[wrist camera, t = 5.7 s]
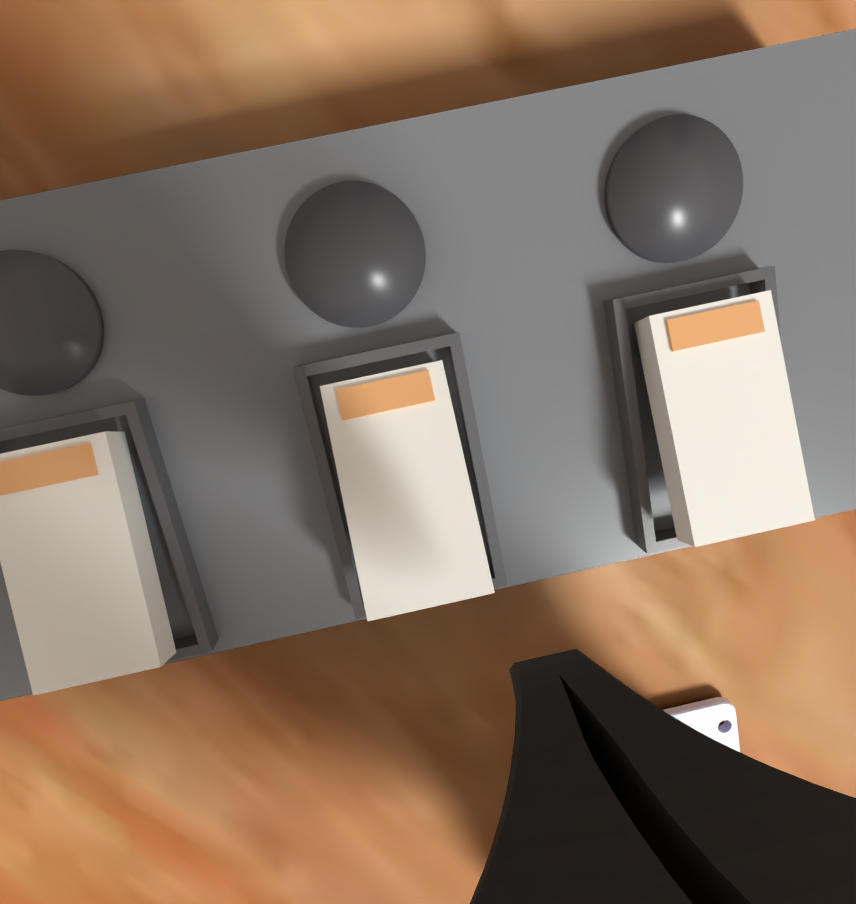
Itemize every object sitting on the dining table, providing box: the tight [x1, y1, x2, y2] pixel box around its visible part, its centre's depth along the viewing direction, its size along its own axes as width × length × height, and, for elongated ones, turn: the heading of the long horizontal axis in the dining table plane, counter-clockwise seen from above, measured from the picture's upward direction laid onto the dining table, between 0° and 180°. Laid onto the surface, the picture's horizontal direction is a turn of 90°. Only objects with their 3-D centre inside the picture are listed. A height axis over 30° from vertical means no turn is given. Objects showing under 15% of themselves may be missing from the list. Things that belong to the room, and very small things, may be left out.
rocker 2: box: [634, 290, 815, 547], centre depth 16 cm, size 6×3×1 cm, turn 12°
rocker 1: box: [0, 431, 176, 696], centre depth 15 cm, size 6×3×1 cm, turn 12°
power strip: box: [0, 29, 856, 701], centre depth 18 cm, size 13×35×4 cm, turn 102°
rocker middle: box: [320, 360, 495, 622], centre depth 15 cm, size 6×3×1 cm, turn 12°
